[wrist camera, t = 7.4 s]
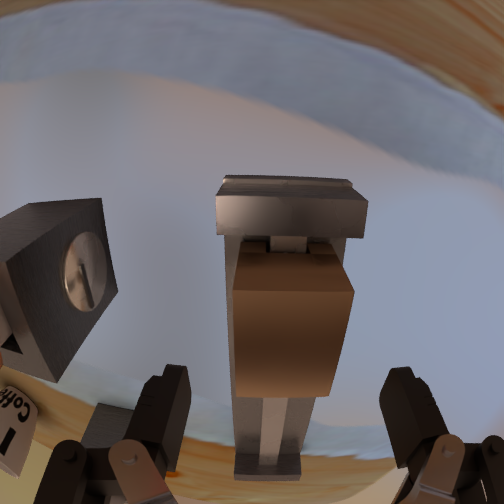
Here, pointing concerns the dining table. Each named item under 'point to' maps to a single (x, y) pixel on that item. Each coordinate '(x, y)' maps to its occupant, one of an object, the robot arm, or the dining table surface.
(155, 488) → the robot arm
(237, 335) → the carriage
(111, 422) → the cabinet
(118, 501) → the plunger
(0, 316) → the plunger
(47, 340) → the cabinet
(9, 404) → the cup
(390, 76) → the dining table surface
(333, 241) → the rail
